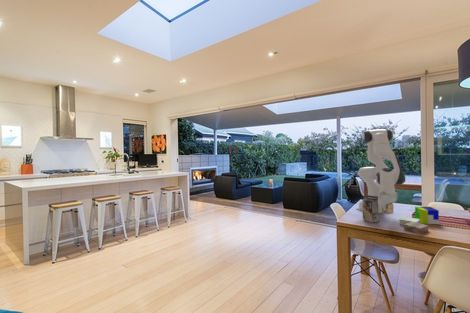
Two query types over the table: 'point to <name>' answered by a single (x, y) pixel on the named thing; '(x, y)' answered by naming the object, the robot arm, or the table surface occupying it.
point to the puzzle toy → (427, 215)
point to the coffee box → (370, 210)
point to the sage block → (408, 220)
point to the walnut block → (416, 227)
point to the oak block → (388, 209)
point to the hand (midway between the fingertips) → (387, 209)
